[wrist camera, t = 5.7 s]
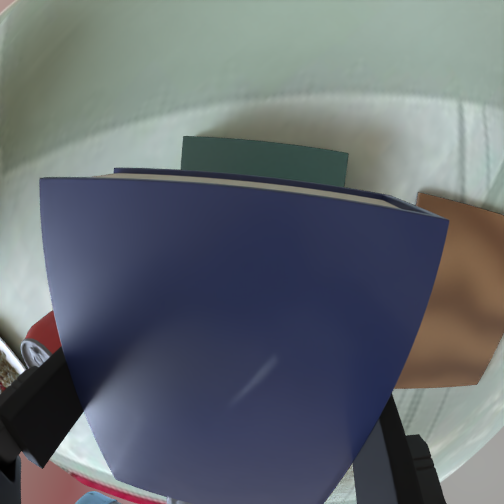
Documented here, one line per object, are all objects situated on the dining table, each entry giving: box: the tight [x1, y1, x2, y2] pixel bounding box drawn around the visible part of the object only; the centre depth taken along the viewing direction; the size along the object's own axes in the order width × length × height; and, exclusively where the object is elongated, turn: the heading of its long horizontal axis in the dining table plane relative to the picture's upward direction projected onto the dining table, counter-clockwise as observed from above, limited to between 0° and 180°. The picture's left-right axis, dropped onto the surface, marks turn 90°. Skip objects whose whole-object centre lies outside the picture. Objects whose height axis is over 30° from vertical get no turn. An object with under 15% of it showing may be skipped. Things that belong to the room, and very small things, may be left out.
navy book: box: [40, 168, 450, 504], centre depth 11 cm, size 15×10×4 cm
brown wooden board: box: [394, 192, 504, 389], centre depth 26 cm, size 22×18×1 cm
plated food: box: [0, 337, 26, 394], centre depth 41 cm, size 30×30×3 cm
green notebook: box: [181, 136, 348, 187], centre depth 26 cm, size 18×13×2 cm
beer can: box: [21, 310, 62, 368], centre depth 26 cm, size 7×7×12 cm
